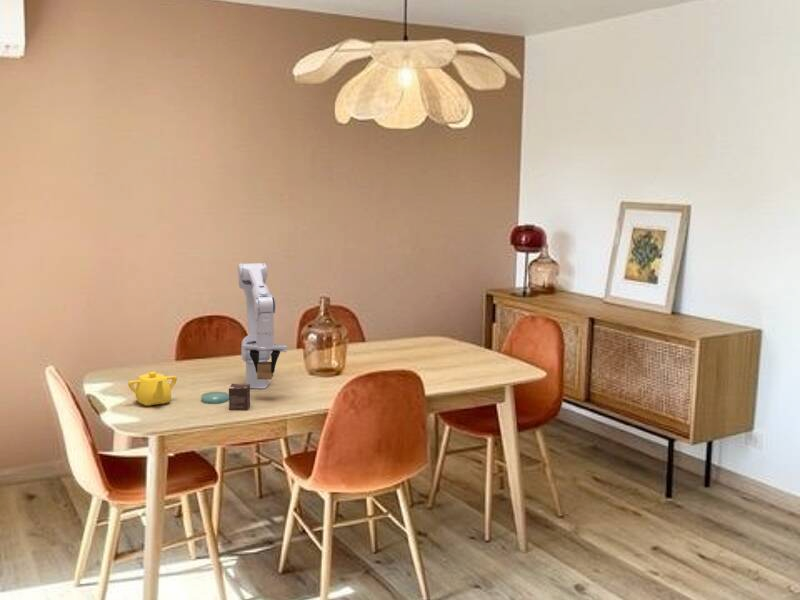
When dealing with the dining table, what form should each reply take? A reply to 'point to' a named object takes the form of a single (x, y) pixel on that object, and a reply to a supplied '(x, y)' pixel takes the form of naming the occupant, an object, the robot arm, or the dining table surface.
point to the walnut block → (264, 370)
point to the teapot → (152, 388)
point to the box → (239, 396)
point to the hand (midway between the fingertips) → (265, 372)
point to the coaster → (215, 397)
